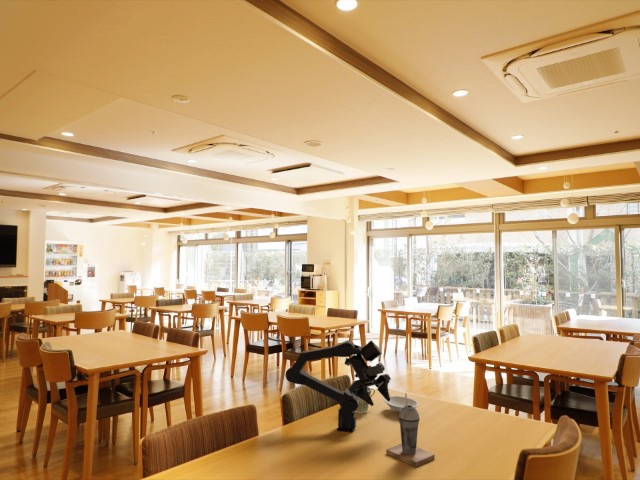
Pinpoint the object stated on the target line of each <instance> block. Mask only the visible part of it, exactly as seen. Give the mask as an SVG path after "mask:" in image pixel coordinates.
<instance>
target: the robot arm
mask: <svg viewBox="0 0 640 480" xmlns="http://www.w3.org/2000/svg"><path fill="white" fill-rule="evenodd" d="M381 355H382V351H381V349H380V347H378V345H376V343H375V342H374V341H373V340H369V341H368V342H367V343H366V344H365V345H363V346H361V345H357V344H355V343H354V342H353V341H351V340H350V339H349V340H345V341H342V342H339V343H337V344H334V345H332V346H328V347H323V348H317V349H312V350H303V351H302V352H301V353H299V356H298V357H297V358H296V360H295V362H294V363H293V365H291V366H290V367H289V368H288V369H286V371H285V374H284V375H285V379H286V380H287V381H288V382H290V383H293V384H296V385H301V386H302V385H303V386H306V387H307V388H310V389H312V390H313V391H316V392H317V393H319V394H322V395H323V396H326V397H327V398H329V399H332V400H334V401H335V402H336V403H337V404H338V405H339V408H338V411H337V412H338V413H337V414H338V415H337V428H336V430H337V431H340V432H341V431H342V432H349V433H353V432H354V430H355V429H356V428H357V417H356V413H355V412H353V411H355V410H356V409H357V407H358V404H359V398H361V399H362V400H364V401H365V402H367V403H368V404H369V405H368V406H371V407H374V404H375V403H374V402H373V400H372V397H370V396H371V395H369V393H368V392H367V387H371V386H372V387H373V386H375V388H376V390H377V391H378V392H379V393H380V395H381V396H382V397H383V398H384V399H386V400H387V401H388V402H389V401H390V393H389V388H388V387H389V383H390V381H391V380H392V379H391V377H390V375H389V374H388V373H384V371H385V369H386V368H385V366H384V364H383V363H382V362H379V363H376V365H373V366H371V365H368V364H367V362H371V363H372V362H373V361H374V360H376V359H377V358H379V357H380V356H381ZM332 357H337V358H345V361H344V365H346V366H351V367H352V368H351V369H353V371H354V373H355V374H354V377H355V378H358V379H357V380H356V379H355V380H353V382H352V383H351V384H350V385H349V386H348V387H346V388H345V390H340V389H338V388H336V387H334V386H332V385H330V384H328V383H326V382H324V381H322V380H320V379H318V378H316V377H314V376H312V375H310V374H309V373H308V372H307V371H306V370H305V368H304V367H305V365H306V364H307V362H309V361H315V360H321V359H327V358H332ZM379 374H380V375H379ZM378 375H379V376H378ZM358 397H359V398H358Z"/></svg>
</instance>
